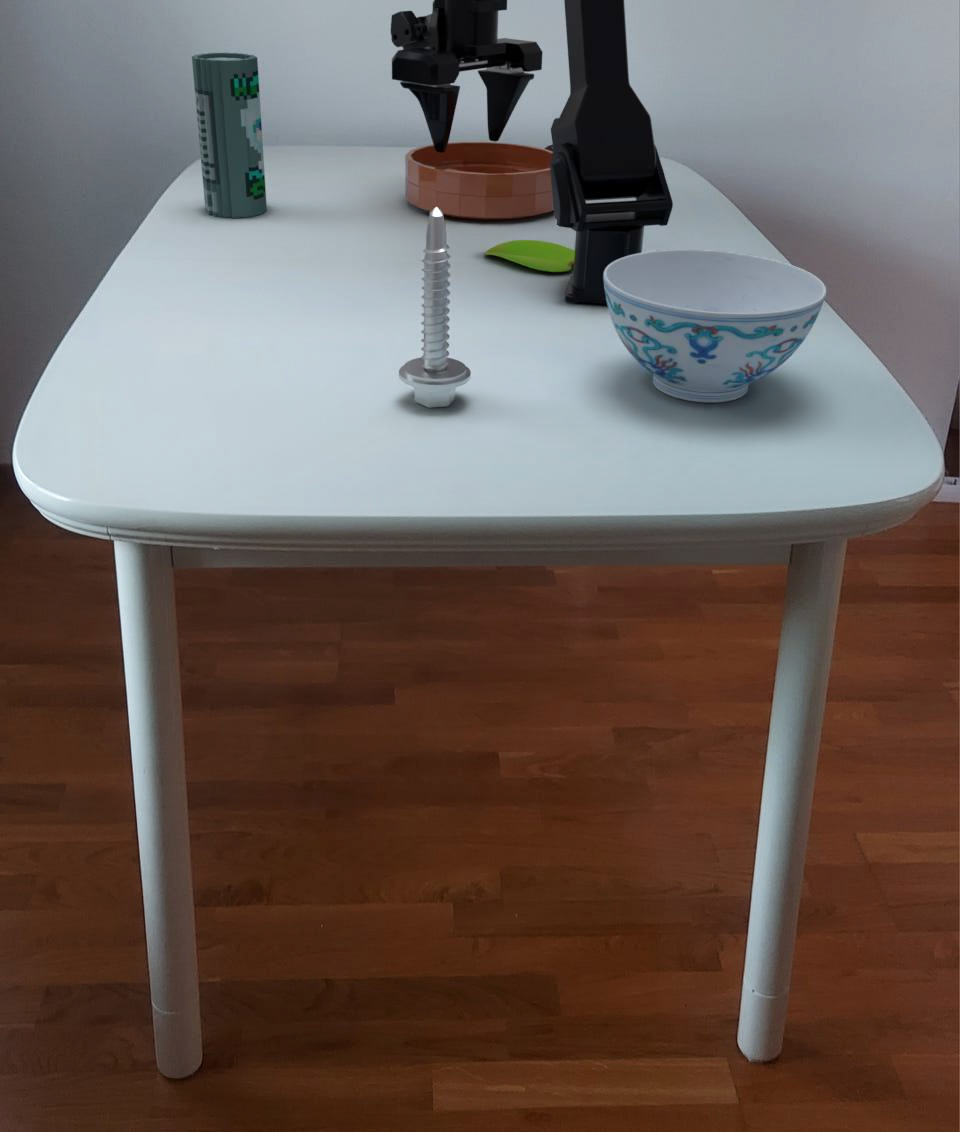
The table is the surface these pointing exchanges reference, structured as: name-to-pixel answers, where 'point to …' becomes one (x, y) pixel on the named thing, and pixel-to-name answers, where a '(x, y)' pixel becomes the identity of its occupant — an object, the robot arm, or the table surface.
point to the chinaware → (710, 317)
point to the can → (230, 134)
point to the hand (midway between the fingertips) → (467, 146)
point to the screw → (435, 327)
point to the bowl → (480, 180)
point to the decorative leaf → (536, 254)
